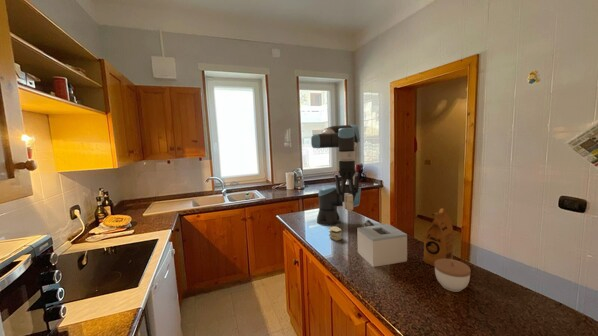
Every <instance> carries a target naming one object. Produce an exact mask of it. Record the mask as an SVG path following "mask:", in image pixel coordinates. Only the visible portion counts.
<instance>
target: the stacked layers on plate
mask: <svg viewBox="0 0 598 336" xmlns="http://www.w3.org/2000/svg"><path fill="white" fill-rule="evenodd" d="M328 230H329V231H328V232H329V235H328V236H329V239H331V240H333V241H339V240H342V238H343V235H342V233H343V232H342V229H341V228H339V227H338V226H331V227H330V228H328Z"/></svg>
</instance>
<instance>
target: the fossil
mask: <svg viewBox="0 0 598 336" xmlns="http://www.w3.org/2000/svg"><path fill="white" fill-rule="evenodd" d="M367 226H375V224H374V223H373V222H372V221H371V220H370V219H366V220H365V222H364V223H363V225H362V227H367Z"/></svg>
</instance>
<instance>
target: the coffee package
mask: <svg viewBox="0 0 598 336" xmlns="http://www.w3.org/2000/svg"><path fill="white" fill-rule="evenodd" d="M430 216H431V217H433V218H434V219H433V220H432V223H431V225H430V226H429V227H428V228H427V230H426V231H425V234H424V237H423V262H424V263H425V264H427V265H430V266H431V267H432V266H433V267H435V265H434V263H435V261H436V260H438V259H453V260H454V230H453V229H454V228H453V227H454V226H453V223H452V220H451V219H450V217H449V216H448V214H447V211H446V210H445V208H440V209H439V211H438V212H433V213H432V214H430Z"/></svg>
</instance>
